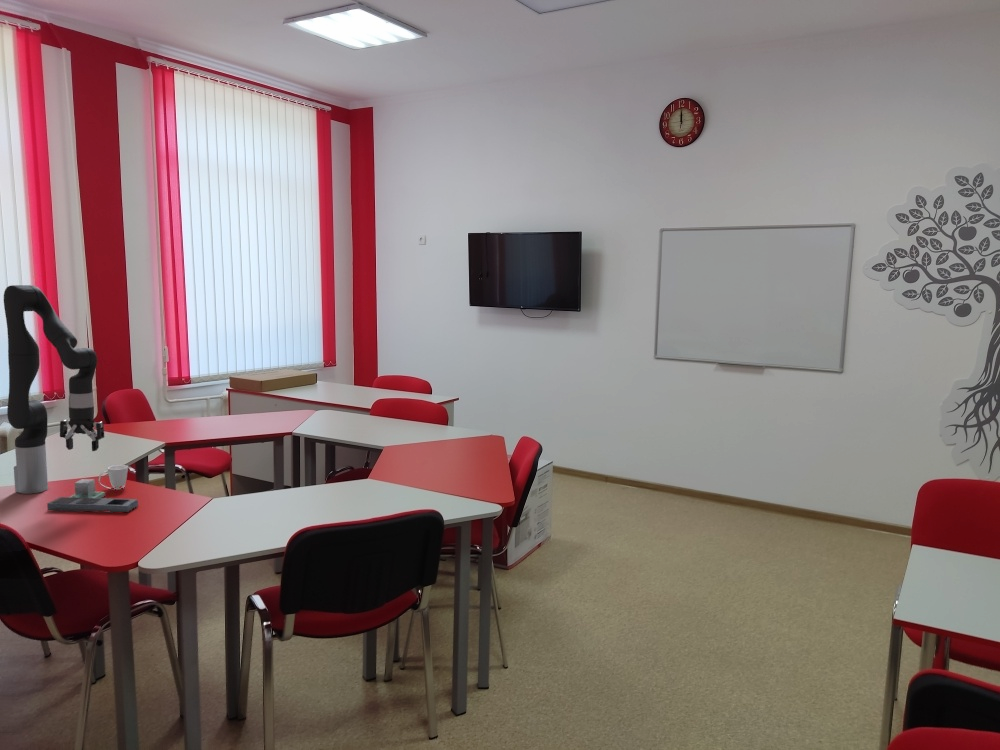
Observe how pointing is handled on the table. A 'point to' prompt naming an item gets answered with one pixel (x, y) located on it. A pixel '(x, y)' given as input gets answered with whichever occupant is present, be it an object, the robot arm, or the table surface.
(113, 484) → the cup
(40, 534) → the table surface
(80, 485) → the light grey block
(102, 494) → the tray
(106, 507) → the dark grey organizer
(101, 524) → the table surface
